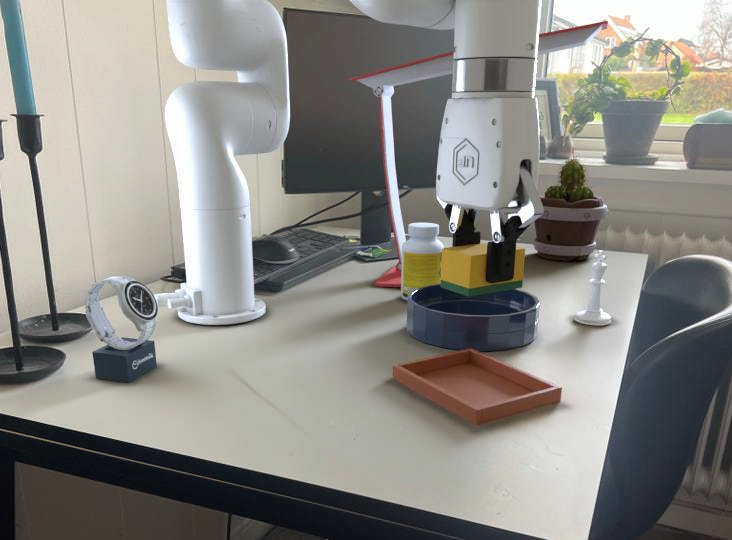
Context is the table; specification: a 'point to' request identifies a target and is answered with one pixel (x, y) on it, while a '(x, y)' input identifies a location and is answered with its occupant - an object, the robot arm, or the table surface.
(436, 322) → the bowl
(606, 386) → the table surface
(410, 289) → the pill bottle
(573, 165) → the flowerpot
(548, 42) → the desk lamp
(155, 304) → the watch
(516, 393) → the sponge dish
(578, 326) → the table surface
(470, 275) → the sponge
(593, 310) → the chess piece
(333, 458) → the table surface
